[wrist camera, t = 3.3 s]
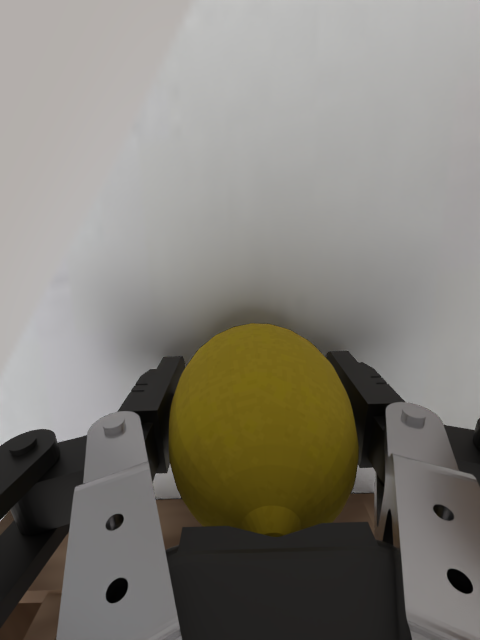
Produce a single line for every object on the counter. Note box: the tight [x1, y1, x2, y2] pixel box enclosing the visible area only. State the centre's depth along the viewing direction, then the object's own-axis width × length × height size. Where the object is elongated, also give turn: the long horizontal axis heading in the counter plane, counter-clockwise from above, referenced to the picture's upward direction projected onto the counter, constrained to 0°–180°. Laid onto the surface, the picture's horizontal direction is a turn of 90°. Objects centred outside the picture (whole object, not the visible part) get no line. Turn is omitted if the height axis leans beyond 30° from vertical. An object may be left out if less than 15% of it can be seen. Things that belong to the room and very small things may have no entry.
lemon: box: [169, 323, 359, 537], centre depth 9 cm, size 6×6×8 cm
